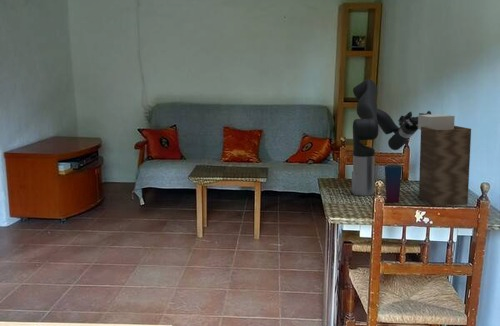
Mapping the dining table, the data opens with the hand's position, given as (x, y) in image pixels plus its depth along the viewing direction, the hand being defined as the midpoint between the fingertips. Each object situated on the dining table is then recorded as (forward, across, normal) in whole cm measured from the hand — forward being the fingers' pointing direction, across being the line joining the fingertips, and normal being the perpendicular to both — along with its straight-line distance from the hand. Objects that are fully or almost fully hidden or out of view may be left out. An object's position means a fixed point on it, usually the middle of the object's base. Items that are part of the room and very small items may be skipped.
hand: (420, 113), depth 210 cm
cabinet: (+5, 0, +42) cm, 43 cm away
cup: (+3, -20, +42) cm, 46 cm away
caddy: (+7, 0, +11) cm, 13 cm away
